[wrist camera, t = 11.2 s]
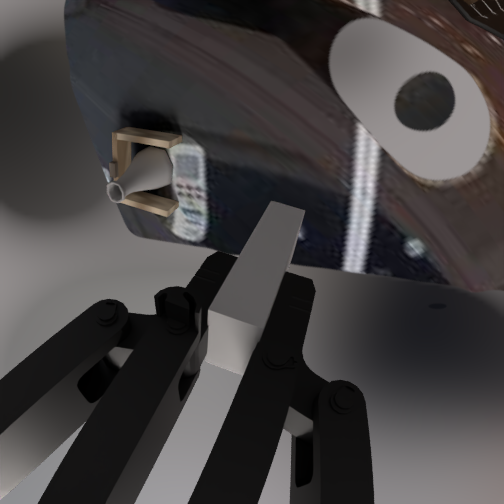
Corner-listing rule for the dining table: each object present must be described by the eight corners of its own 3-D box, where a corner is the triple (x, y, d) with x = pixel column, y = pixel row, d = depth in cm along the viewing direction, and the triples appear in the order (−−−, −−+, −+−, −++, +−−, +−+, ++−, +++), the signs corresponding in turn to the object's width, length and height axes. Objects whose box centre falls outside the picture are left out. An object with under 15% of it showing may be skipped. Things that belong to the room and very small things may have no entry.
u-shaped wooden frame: (127, 192, 49) (112, 203, 45) (125, 126, 41) (108, 133, 38) (178, 207, 47) (164, 219, 44) (182, 135, 40) (166, 143, 36)
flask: (177, 188, 45) (140, 217, 37) (142, 188, 47) (103, 215, 39) (170, 143, 41) (128, 165, 33) (133, 147, 43) (90, 169, 35)
